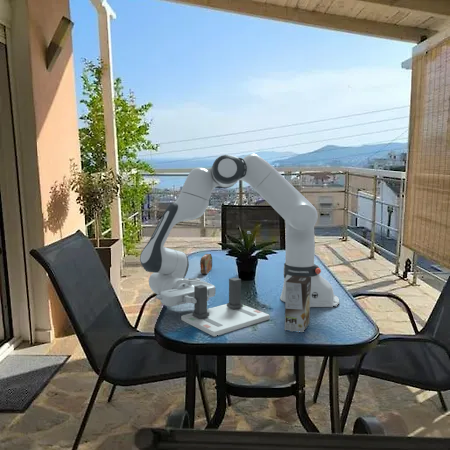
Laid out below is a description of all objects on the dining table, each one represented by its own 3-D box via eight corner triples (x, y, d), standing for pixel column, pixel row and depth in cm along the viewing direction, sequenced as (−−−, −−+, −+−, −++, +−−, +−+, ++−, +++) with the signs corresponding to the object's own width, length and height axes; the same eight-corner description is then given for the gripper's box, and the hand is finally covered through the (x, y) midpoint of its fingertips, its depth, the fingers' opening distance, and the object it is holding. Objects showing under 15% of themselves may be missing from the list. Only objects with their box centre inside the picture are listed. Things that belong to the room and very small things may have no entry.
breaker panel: (181, 320, 144) (181, 315, 144) (235, 305, 160) (235, 301, 159) (214, 336, 131) (214, 331, 130) (269, 319, 146) (269, 314, 146)
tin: (205, 276, 202) (205, 258, 200) (199, 275, 202) (199, 258, 201) (212, 268, 216) (212, 252, 215) (206, 268, 217) (206, 251, 216)
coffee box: (304, 333, 133) (305, 283, 131) (284, 330, 136) (285, 281, 134) (309, 323, 142) (311, 276, 140) (290, 320, 144) (292, 274, 142)
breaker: (226, 306, 153) (227, 278, 151) (235, 304, 155) (235, 277, 154) (234, 309, 150) (234, 281, 148) (242, 307, 152) (243, 279, 151)
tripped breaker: (192, 315, 143) (192, 286, 142) (201, 313, 146) (201, 284, 145) (199, 319, 140) (199, 288, 139) (209, 316, 143) (209, 286, 141)
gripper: (153, 287, 145) (175, 296, 135) (201, 277, 158) (225, 285, 148) (153, 304, 146) (175, 315, 136) (201, 293, 159) (225, 303, 149)
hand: (201, 299), depth 142 cm, fingers closed on tripped breaker, 3 cm apart
